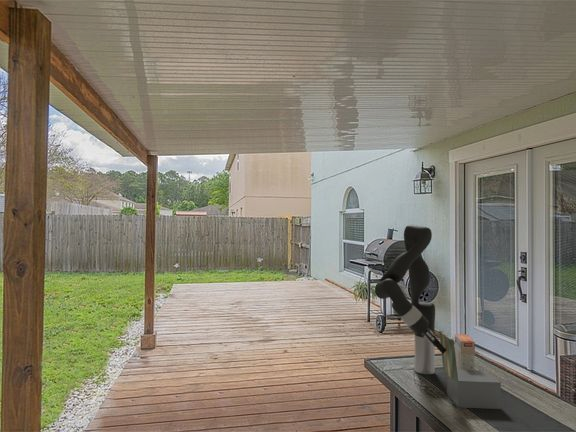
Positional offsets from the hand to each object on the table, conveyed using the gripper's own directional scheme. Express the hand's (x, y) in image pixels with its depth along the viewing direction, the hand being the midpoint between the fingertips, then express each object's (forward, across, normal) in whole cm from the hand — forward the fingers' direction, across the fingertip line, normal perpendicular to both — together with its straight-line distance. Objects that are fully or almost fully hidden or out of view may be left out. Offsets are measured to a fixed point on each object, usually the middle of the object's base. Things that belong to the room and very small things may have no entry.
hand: (444, 351), depth 170 cm
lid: (+2, 0, -1) cm, 2 cm away
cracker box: (+23, +18, +3) cm, 30 cm away
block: (+22, 0, +5) cm, 22 cm away
